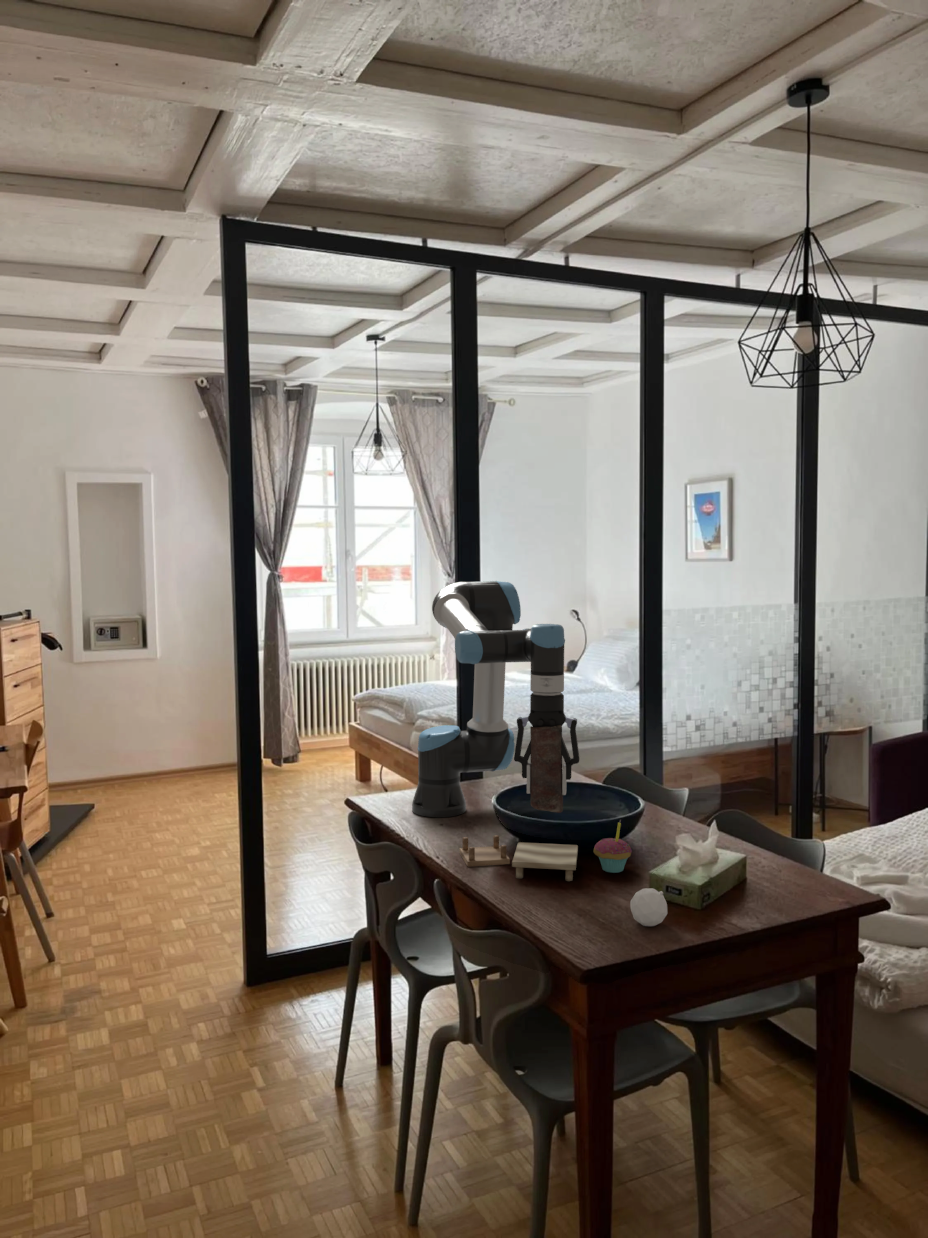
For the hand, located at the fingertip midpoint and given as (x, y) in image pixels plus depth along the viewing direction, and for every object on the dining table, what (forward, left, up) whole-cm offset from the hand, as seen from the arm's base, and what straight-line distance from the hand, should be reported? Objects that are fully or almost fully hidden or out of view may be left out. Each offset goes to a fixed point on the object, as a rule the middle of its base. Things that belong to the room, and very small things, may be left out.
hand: (546, 792), depth 214 cm
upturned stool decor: (-6, -15, -18) cm, 24 cm away
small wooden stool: (0, 0, -18) cm, 18 cm away
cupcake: (-3, +15, -18) cm, 24 cm away
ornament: (+28, +22, -18) cm, 40 cm away
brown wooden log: (0, 0, -4) cm, 4 cm away
